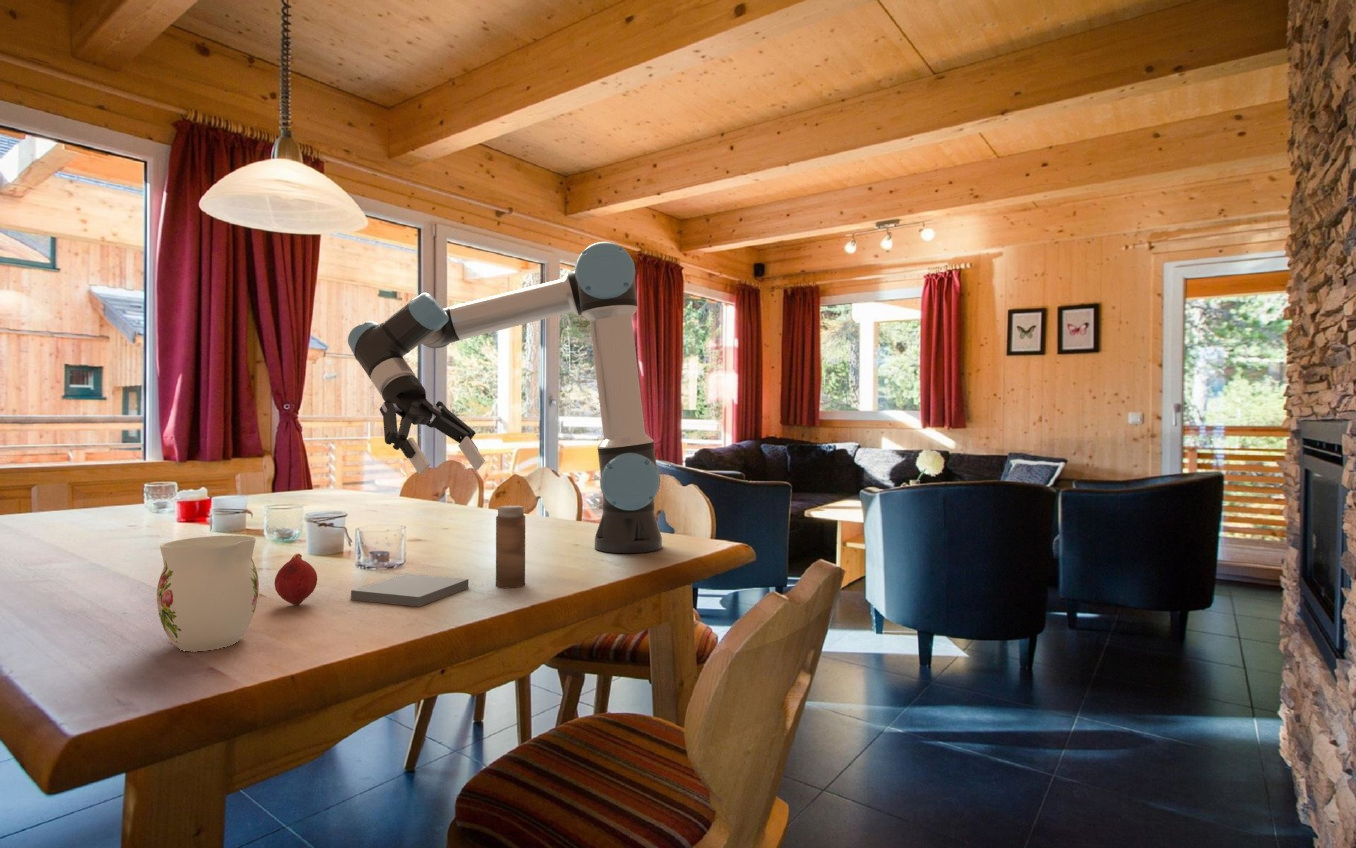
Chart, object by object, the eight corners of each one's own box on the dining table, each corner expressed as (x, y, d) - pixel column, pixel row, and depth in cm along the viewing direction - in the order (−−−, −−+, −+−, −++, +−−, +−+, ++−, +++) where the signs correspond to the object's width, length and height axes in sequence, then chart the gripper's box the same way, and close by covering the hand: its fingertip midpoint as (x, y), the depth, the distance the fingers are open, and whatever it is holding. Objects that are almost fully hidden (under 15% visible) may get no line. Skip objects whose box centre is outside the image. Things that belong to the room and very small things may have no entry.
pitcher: (236, 619, 104) (236, 524, 104) (275, 648, 91) (275, 540, 91) (142, 635, 96) (142, 533, 96) (171, 670, 84) (171, 551, 84)
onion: (304, 610, 109) (304, 557, 109) (266, 610, 109) (266, 557, 109) (324, 600, 115) (324, 550, 115) (288, 600, 115) (288, 550, 115)
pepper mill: (505, 580, 130) (505, 504, 130) (530, 582, 128) (530, 506, 128) (490, 586, 125) (490, 508, 125) (515, 589, 123) (515, 509, 123)
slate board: (405, 582, 128) (405, 573, 128) (468, 587, 124) (468, 579, 124) (351, 599, 116) (351, 590, 116) (419, 606, 112) (419, 597, 112)
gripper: (438, 402, 154) (490, 476, 147) (332, 398, 132) (387, 485, 125) (457, 376, 151) (510, 451, 144) (352, 368, 129) (409, 456, 122)
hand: (453, 467), depth 134 cm, fingers open, 13 cm apart
